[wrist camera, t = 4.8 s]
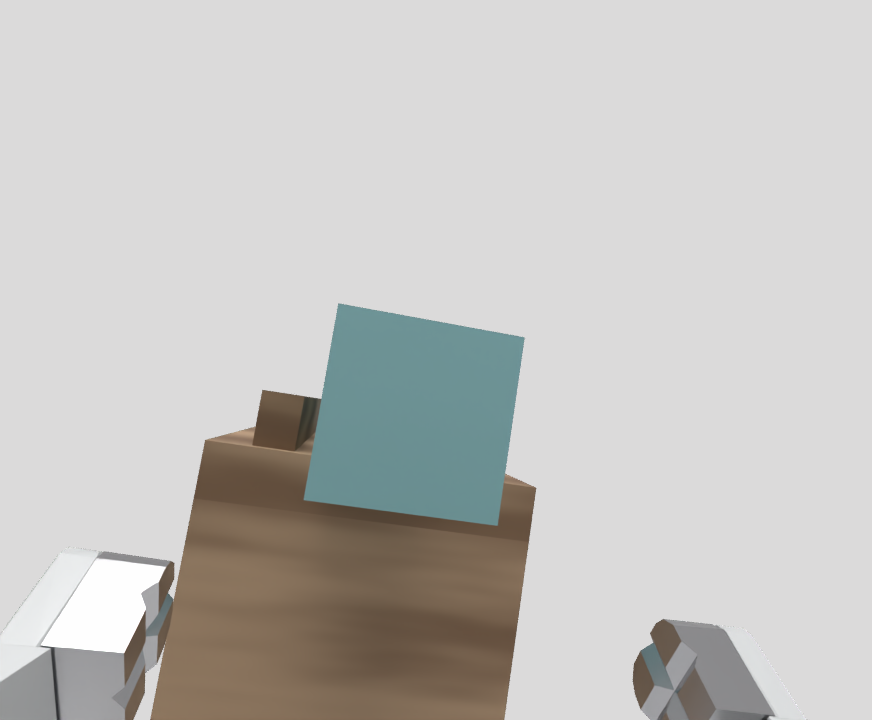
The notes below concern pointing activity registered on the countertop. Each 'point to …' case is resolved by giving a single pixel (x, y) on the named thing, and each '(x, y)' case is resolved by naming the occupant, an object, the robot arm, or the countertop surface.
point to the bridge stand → (334, 594)
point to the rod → (415, 417)
